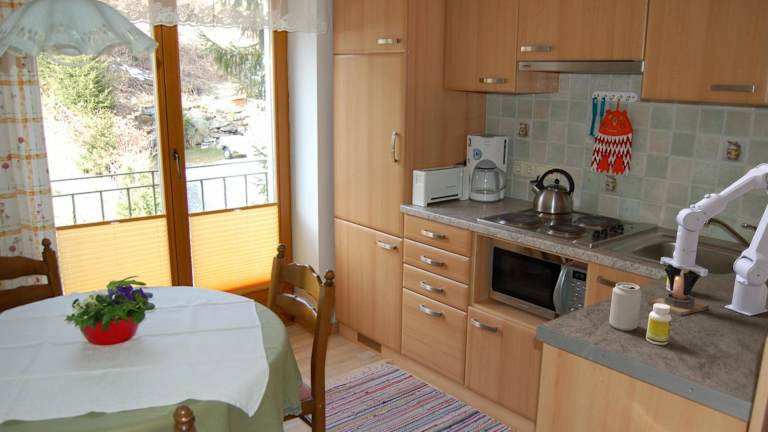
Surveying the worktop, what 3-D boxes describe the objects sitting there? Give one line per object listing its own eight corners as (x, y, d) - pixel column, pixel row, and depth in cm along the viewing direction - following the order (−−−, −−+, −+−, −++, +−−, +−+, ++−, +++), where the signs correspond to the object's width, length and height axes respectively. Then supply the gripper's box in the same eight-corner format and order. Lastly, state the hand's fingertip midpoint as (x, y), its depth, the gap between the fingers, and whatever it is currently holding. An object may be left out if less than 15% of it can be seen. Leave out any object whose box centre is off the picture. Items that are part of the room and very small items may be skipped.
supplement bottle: (670, 346, 165) (675, 310, 163) (648, 344, 166) (652, 308, 164) (665, 338, 170) (670, 303, 168) (644, 336, 171) (648, 301, 169)
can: (634, 334, 172) (639, 291, 170) (605, 327, 176) (610, 286, 173) (639, 325, 178) (645, 284, 176) (612, 319, 182) (616, 279, 180)
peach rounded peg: (677, 295, 197) (680, 273, 195) (689, 299, 193) (692, 277, 192) (668, 297, 195) (671, 275, 193) (680, 301, 192) (683, 279, 190)
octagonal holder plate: (676, 297, 203) (677, 288, 202) (708, 309, 193) (709, 299, 193) (648, 303, 196) (649, 294, 196) (680, 315, 187) (681, 305, 186)
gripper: (656, 244, 195) (650, 287, 198) (699, 256, 183) (693, 302, 186) (671, 242, 199) (665, 284, 201) (714, 254, 186) (708, 298, 189)
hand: (679, 292), depth 194 cm, fingers closed on peach rounded peg, 4 cm apart
